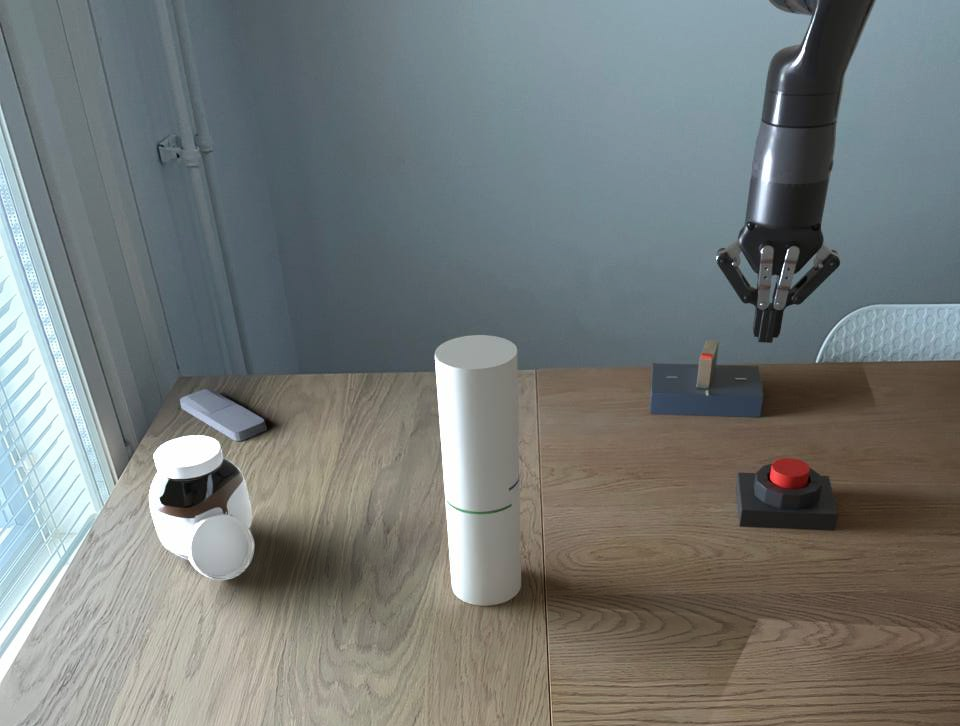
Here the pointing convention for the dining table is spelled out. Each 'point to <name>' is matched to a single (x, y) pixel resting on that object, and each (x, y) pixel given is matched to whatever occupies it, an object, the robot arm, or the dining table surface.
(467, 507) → the cylindrical container
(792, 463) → the button
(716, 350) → the beige rectangular block
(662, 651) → the dining table surface
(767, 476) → the button box
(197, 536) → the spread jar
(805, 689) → the dining table surface
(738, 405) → the switch panel
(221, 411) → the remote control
